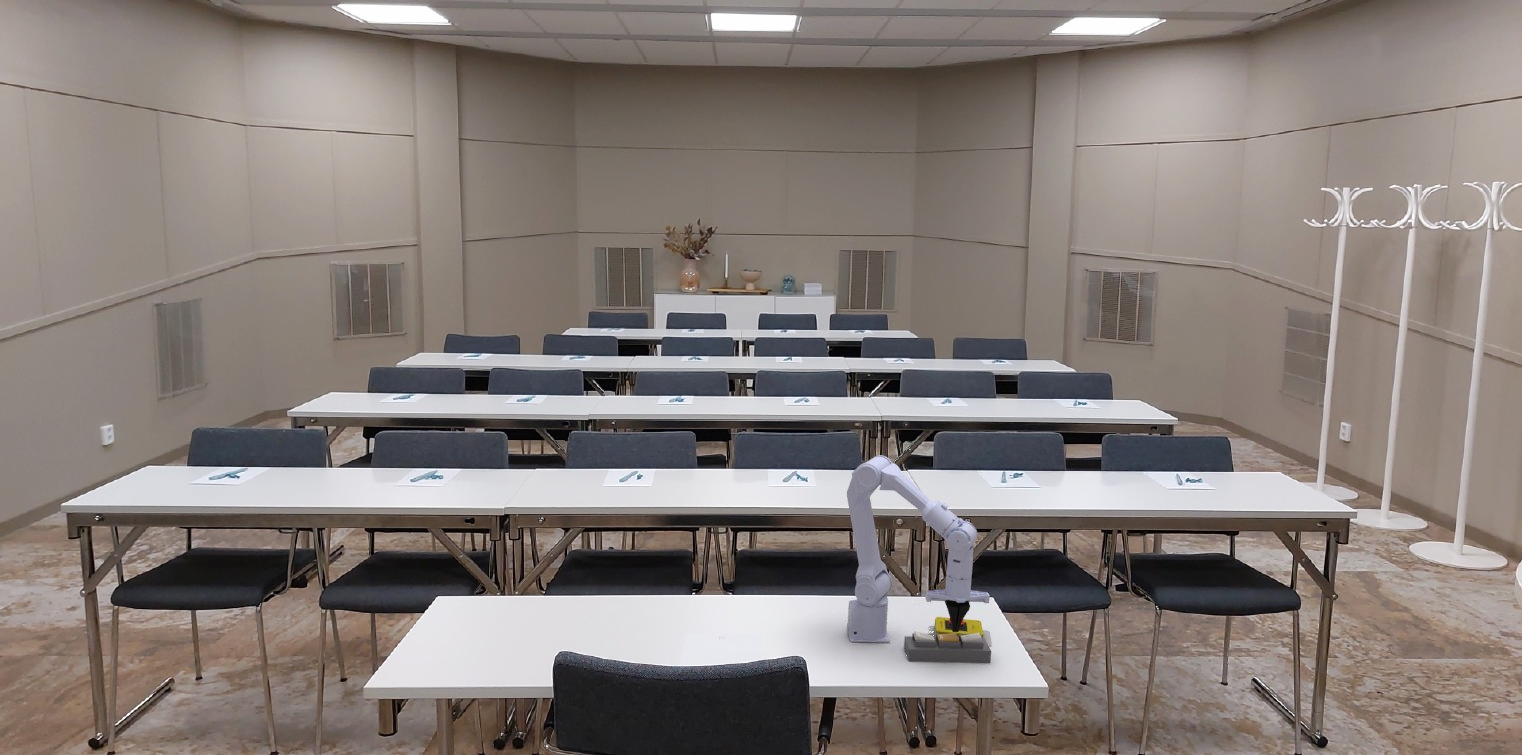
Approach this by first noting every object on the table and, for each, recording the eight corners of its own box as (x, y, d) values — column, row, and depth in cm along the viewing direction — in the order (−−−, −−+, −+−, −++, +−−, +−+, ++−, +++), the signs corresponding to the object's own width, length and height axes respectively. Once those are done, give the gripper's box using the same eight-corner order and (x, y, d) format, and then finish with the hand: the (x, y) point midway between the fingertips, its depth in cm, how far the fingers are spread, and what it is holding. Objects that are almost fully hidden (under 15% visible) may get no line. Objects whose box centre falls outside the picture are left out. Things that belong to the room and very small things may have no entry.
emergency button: (929, 611, 265) (990, 616, 263) (928, 627, 266) (989, 633, 264) (929, 626, 256) (993, 631, 254) (928, 643, 257) (992, 649, 255)
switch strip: (908, 661, 246) (909, 644, 245) (903, 648, 253) (904, 631, 252) (990, 663, 246) (991, 645, 246) (983, 649, 253) (984, 632, 252)
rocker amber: (939, 643, 248) (939, 639, 247) (937, 638, 250) (937, 634, 250) (958, 642, 248) (958, 637, 247) (956, 637, 250) (955, 632, 250)
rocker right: (963, 645, 248) (962, 640, 248) (960, 639, 250) (960, 635, 250) (982, 641, 248) (981, 637, 247) (979, 636, 250) (978, 632, 250)
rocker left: (915, 640, 247) (916, 636, 247) (913, 635, 250) (914, 631, 250) (933, 644, 248) (935, 640, 247) (931, 639, 250) (932, 635, 250)
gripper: (930, 580, 242) (926, 636, 244) (994, 582, 242) (989, 638, 245) (925, 569, 249) (921, 624, 251) (987, 571, 249) (982, 625, 252)
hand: (954, 630), depth 249 cm, fingers closed
